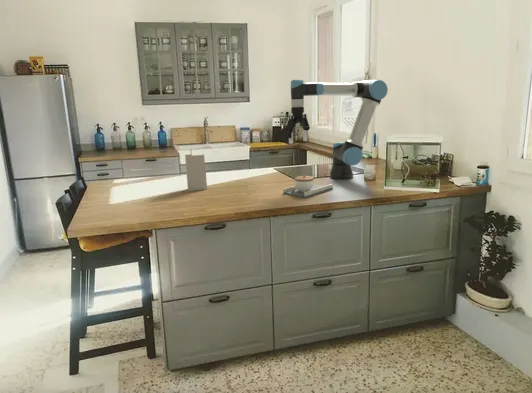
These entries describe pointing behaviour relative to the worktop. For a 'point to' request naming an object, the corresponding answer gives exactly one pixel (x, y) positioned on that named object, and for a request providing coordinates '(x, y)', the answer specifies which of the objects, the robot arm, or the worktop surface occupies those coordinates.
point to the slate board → (314, 190)
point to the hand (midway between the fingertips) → (298, 142)
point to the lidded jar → (304, 183)
